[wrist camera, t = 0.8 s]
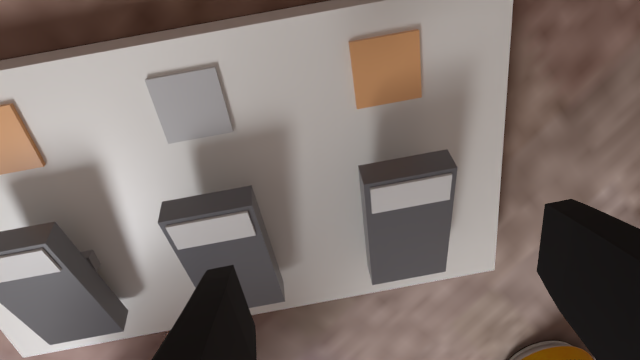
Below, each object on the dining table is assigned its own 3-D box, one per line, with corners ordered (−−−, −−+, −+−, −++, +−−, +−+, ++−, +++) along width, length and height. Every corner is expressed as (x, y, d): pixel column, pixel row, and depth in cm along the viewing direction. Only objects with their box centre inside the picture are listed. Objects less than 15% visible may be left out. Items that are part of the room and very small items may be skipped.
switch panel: (477, 244, 23) (499, 277, 20) (41, 324, 22) (17, 366, 20) (488, -29, 16) (522, -23, 14) (-130, 83, 16) (-192, 108, 14)
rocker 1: (128, 310, 19) (123, 333, 18) (57, 323, 19) (49, 347, 18) (54, 221, 15) (44, 245, 14) (-36, 238, 15) (-52, 263, 14)
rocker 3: (437, 253, 19) (446, 273, 18) (367, 266, 19) (372, 287, 18) (447, 149, 15) (458, 169, 14) (358, 165, 15) (364, 186, 14)
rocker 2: (283, 281, 19) (285, 303, 18) (212, 294, 19) (211, 317, 18) (251, 185, 15) (252, 207, 14) (161, 201, 15) (157, 225, 14)
